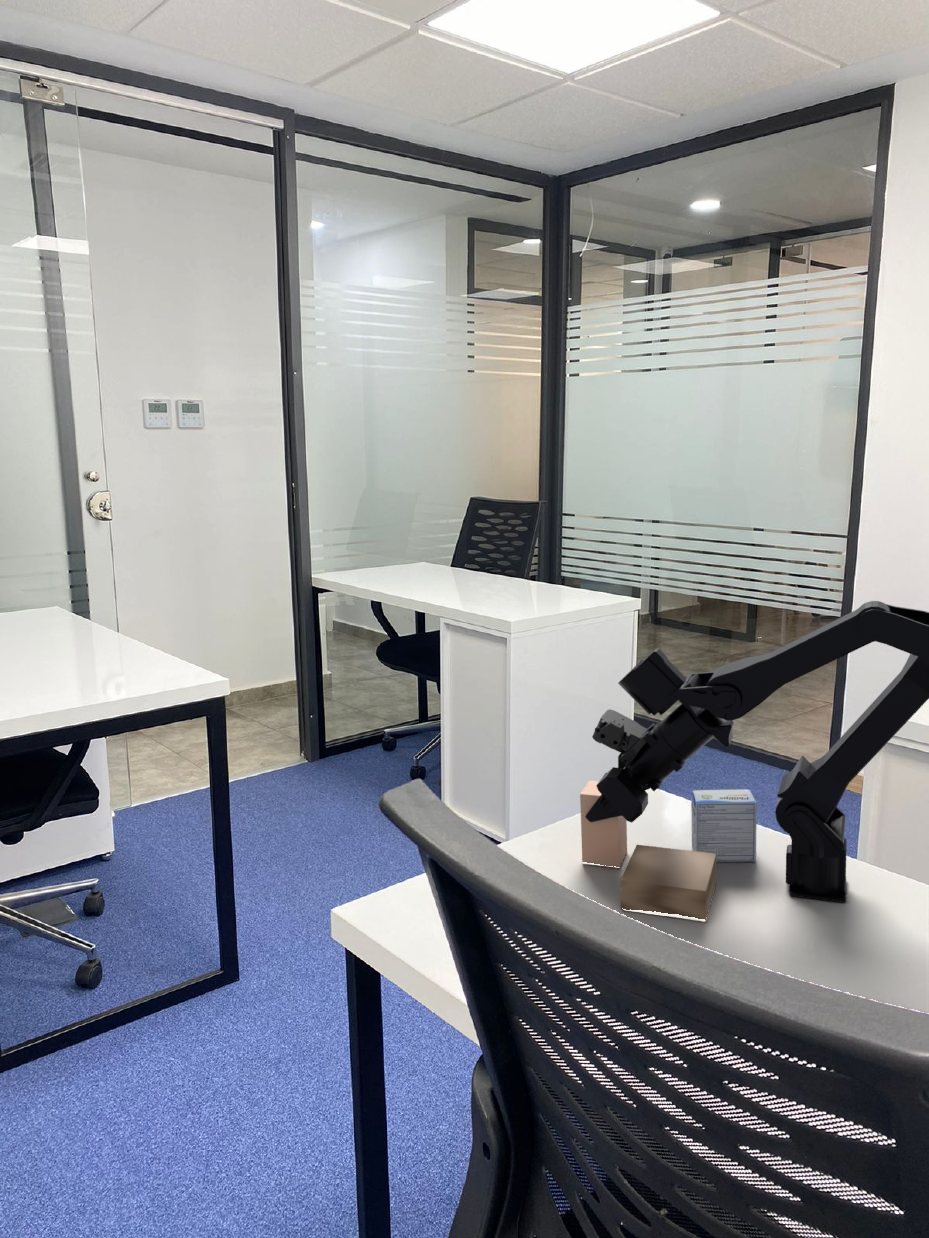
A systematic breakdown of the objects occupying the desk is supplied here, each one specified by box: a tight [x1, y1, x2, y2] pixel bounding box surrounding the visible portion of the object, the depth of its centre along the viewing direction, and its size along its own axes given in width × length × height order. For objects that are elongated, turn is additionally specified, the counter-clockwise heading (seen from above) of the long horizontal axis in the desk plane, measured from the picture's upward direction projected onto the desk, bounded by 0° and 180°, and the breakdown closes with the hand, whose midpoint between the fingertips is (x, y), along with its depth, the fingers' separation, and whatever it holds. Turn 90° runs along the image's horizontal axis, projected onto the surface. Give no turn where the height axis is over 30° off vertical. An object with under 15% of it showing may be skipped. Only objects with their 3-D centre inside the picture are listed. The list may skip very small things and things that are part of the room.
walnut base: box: [620, 844, 717, 921], centre depth 114 cm, size 10×10×4 cm
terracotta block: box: [579, 779, 628, 868], centre depth 124 cm, size 5×5×10 cm
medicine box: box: [690, 789, 758, 863], centre depth 123 cm, size 8×4×9 cm, turn 84°
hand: (593, 811), depth 125 cm, fingers closed on terracotta block, 5 cm apart
